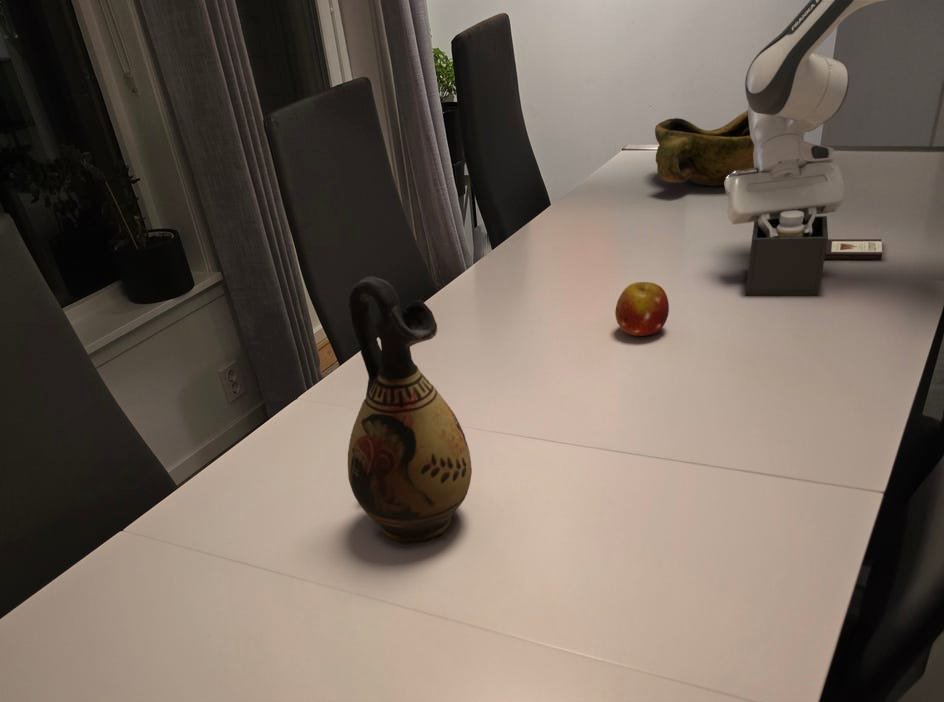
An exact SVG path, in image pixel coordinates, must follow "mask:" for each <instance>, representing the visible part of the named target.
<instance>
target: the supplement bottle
mask: <svg viewBox="0 0 944 702" xmlns="http://www.w3.org/2000/svg"><path fill="white" fill-rule="evenodd" d="M803 218H804V213H803V212H801V211H796V210H790V211H784V212H782V213H781V214H780V220H779V223H780V224H779V225H778V226H777V230H778V232H777V233H778V237H803V231H804V225H803V224H802V222H803Z"/></svg>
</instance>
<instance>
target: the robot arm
mask: <svg viewBox="0 0 944 702" xmlns="http://www.w3.org/2000/svg"><path fill="white" fill-rule="evenodd" d="M880 2H886V0H809V1H808V2H807V4H806V5H805V6H804V7H803V8H802V9H801V10H800V12H799V13H798V14H797V15H796V16H795V17H794V18H793V19H792V21H791V22H790V23H789V24H788V25H787V26H786V27H785V29H784V30H782V31H781V33H779V34H778V35H777V36H776V37H775V38H774V39H772V40H771V41H770V42H768V43H767V45H765V47H763V48H762V49H761V50H760V51H759V52H758V54H756V56H755V57H754V59H753V60H752V62H751V64H750V65H749V67H748V70H747V71H746V75H745V82H744V87H745V89H744V90H745V95H746V100H747V103H748V104H747V105H748V106H747V110H748V120H749V129H750V136H751V139H752V141H753V144H754V151H753V159H754V168H752V169H746V170H742V171H739V170H736V171H733V172H732V173H731V174H729V175H728V176H727V177H726V178H725V182H724V184H725V185H724V189H725V190H724V191H725V193H726V195H727V196H728V197H727V219H728V221H729V222H730V223H731V224H732V225H741V224H748V223H749V224H750V223H754V222H758V225H759V227H760V229H761V230H762V231H763V232H764V233H765V234H766V237H767V238H776V237H778V233H777V232H778V230H777V228H772V226H771V225H770V224H769V222H768V221H769V220H774V219H780V214H781V213H782V212H784V211H790V210H796V211H801V212H803V213H804V217H805V221H807V220H808V222H807V224H806V225H804V231H803V237H811V235H812V232H813V231H812V223H813V221H814V219H815V216H817V215H823V214H830V213H831V214H832V213H835V212H837V211H838V210H839V208H840V207H841V206H842V204H843V202H844V201H845V199H846V190H845V183H844V180H843V176H842V172H841V169H840V168H839V166H838V165H837V164H836V163H834V159H835V157H836V153H835V149H834V148H833V147H830V146H827V145H826V146H824V145H820V144H815V143H811V142H808V141H805V137H804V136H805V135H806V133H808V132H811V131H814V130H816V129H817V128H818V127H820V126H822V125H824V124H825V123H826V122H828V121H829V120H830V119H832V118H833V117H834V116H835V115H837V113H838V112H839V111H840V109H841V108H842V106H843V105H844V103H845V101H846V98H847V96H848V91H849V86H850V85H849V84H850V77H849V71H848V68H847V66H846V65H845V64H844V63H843V62H842V61H839V60H837V59H834V58H831V57H828V56H824V55H821V54H816V53H814V52H816V51H817V49H818V48H819V47H820V46H821V45H822V43H824V41H825V40H826V39H827V38H828V37H829V36H830V35H831V34H832V33H833V32H834V30H835V29H836V28H837V27H839V25H840V24H841V23H842V22H843V21H844V20H845V19H846V18H847V17H848V16H850V15H851V14H852V13H854V12H855V11H857V10H860V9H861V8H863V7H866V6H869V5H872V4H876V3H880ZM730 176H731V177H730Z"/></svg>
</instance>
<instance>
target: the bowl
mask: <svg viewBox="0 0 944 702" xmlns="http://www.w3.org/2000/svg"><path fill="white" fill-rule="evenodd" d="M654 134H655V139H656V141H657V143H658V146H657V150H656V153H655V162H656V165H657V167H656V168H657V169H656V172H657V174H658V177H659V179H660V180H662V181H663V182H666V183H684V182H686V181H687V180H690V181H691V182H692V183H693V184H697V185H702V186H711V187H715V186H722V187H723V186H724V187H725V184H724V182H725V178H726V177H727V176H728V175H729V174H731V173H732V172H733V171H736V170H739V171H742V170H746V169H752V168H754V159H753V151H754V144H753V141H752V139H751V136H750V129H749V120H748V109H747V110H746V111H744V112H742V113H740V114H739V115H738V116H737V117H735V118H734V119H733V120H730V122H728V123H726V124H725V125H722V126H721V127H719V128H716V129H711V130H707V129H703V128H700V127H698V126H697V125H695V124H694V123H692V122H691V121H689V120H686V119H683V118H679V117H674V118H668V119H665V120H663V121H660V122H658V123H657V124H656V125H655V128H654ZM730 177H731V176H730Z"/></svg>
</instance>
